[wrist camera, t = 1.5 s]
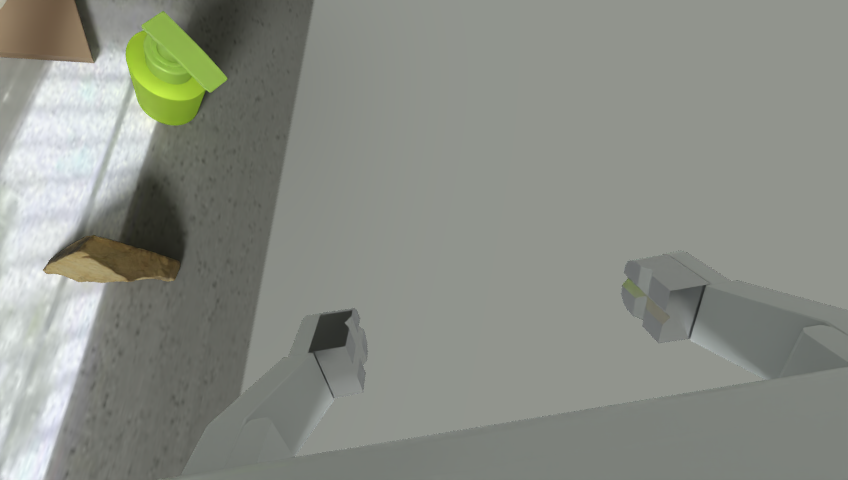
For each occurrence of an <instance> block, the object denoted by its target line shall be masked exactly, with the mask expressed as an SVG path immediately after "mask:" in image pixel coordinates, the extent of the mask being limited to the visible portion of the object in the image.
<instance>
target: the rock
mask: <svg viewBox="0 0 848 480" xmlns="http://www.w3.org/2000/svg"><path fill="white" fill-rule="evenodd" d="M179 268H180V262H179V261H177V260H175V259H172V258H169V257H166V256H163V255H159V254H157V253H154V252H150V251H147V250H144V249H140V248H135V247H133V246H130V245H126V244H123V243H121V242H117V241H113V240H110V239H107V238H103V237H98V236H95V235H92V236H85V237H84V238H82V239H80V240H78V241H76V242H74V243H73V244H71V245H70V246H68V247H66V248H65V249H63V250H62V251H61V252H59V253H58V254H56V255H55V256H54V257H53V258H51V259H50V260H49V262H48V264H47V265H46V267H45V268H44V269H43V271H44V272H45V273H47V274H59V275H63V276H66V277H68V278H71V279H73V280H75V281H78V282H86V281H88V282H100V283H105V282H114V281H125V282H133V281H135V280H143V279H158V280H163V281H174V280H175V278H176V276H177V273H178V271H179Z"/></svg>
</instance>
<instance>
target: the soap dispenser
mask: <svg viewBox="0 0 848 480" xmlns="http://www.w3.org/2000/svg"><path fill="white" fill-rule="evenodd" d="M142 29H143V30H144V31H141V32H139V33H137V34H136V35H134V36H133V37H132V38H131V39H130V41H129V43H128V45H127V48H126V61H127V65H128V68H129V72H130V75H131V79H132V82H133V86H134V89H135V93H136V96H137V100H138V102H139V104H140V106H141V108H142V109H143V110H144V111H145V113H146V114H148V115H149V116H150V117H151V118H153V119H155V120H156V121H158V122H161V123H164V124H168V125H182V124H185V123H188V122H190V121H191V120H192V119H193V118H194V117H195V116H196V114H197V112H198V109H199V107H200V104H201V101H202V99H203V96H204V93H205V91H206V90H207V91H208V92H210V93H211V92H212V91H214V90H215V89H216V88H217V87H219V86H220V85H221V84H222V83H224V82H225V81H226V80H227V77H226V76H225V75H224V73H223V72H222V71H221V70H220V69H219V68H218V67H217V65H216V64H215V63H214V62H213V61H212V60H211V59H210V58H209V56H208V55H207V54H206V53H205V52H204V51H203V50H202V49H201V48H200V47H199V46H198V45H197V44H196V43H195V42H194V41H193V40H192V39H191V38H190V37H189V36H188V35H187V34H186V33H185V32H184V31H183V30H182V29H181V28H180V27H179V26H178V25H177V24H176V23H175V22H174V21H173V20H172V19H171V18H170V17H169V16H168V15H167V14H166V13H165V12H164V11H163V12H161V13H159V14H158V15H156V16H155V17H153V18H152V19H150V20H149V21H147V22H146V23H144V24H143V25H142Z"/></svg>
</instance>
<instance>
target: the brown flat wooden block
mask: <svg viewBox="0 0 848 480" xmlns="http://www.w3.org/2000/svg"><path fill="white" fill-rule="evenodd" d="M0 57H8V58H24V59H40V60H56V61H71V62H87V63H94V61H93V58H92V54H91V51H90V48H89V44H88V41H87V38H86V35H85V31H84V28H83V25H82V21H81V18H80V15H79V12H78V8H77V5H76V2H75V0H0Z"/></svg>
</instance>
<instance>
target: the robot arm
mask: <svg viewBox="0 0 848 480" xmlns="http://www.w3.org/2000/svg"><path fill="white" fill-rule="evenodd" d="M624 273H625V275H626V276H627V277H628V279H627V280H626V281H625V283H623V285H622V293H621V295H622V299H623V303H624V305H625V306H626V308H627V310H628V311H629V312H630V313H631V314H632V315H633V316H635V317H637V318H639V319H642V320H643V327H644V328H645V329H646V331H647V332H648V333H649V334H650V335H651V336H652V337H653V338H654V339H655V340H656V341H657V342H658V343H663V342H670V341H677V340H685V339H690V341H692V342H694V343H696V344H698V345H700V346H702V347H704V348H706V349H707V350H709V351H711V352H713V353H715V354H717V355H719V356H721V357H723V358H725V359H727V360H728V361H730V362H732V363H734V364H736V365H738V366H740V367H742V368H744V369H746V370H748V371H750V372H752V373H753V374H755V375H757V376H759V377H761V378H763V379H765V380H762V381H756V382H751V383H744V384H738V385H732V386H726V387H720V388H713V389H708V390H702V391H696V392H689V393H683V394H677V395H671V396H665V397H659V398H652V399H646V400H641V401H635V402H628V403H622V404H616V405H610V406H604V407H598V408H592V409H586V410H580V411H574V412H567V413H561V414H555V415H549V416H542V417H537V418H531V419H524V420H518V421H512V422H506V423H500V424H494V425H488V426H482V427H475V428H469V429H463V430H457V431H451V432H445V433H439V434H433V435H427V436H421V437H414V438H408V439H402V440H397V441H390V442H384V443H378V444H372V445H366V446H359V447H353V448H347V449H341V450H335V451H329V452H323V453H317V454H311V455H305V456H299V457H295V456H296V454H297V453H298V452H299V450H300V449H301V447H302V446H303V444H304V443H305V441H306V440H307V439H308V437H309V435H310V434H311V433H312V431H313V430H314V428H315V427H316V425H317V424H318V423H319V421H320V420H321V418H322V417H323V415H324V414H325V413H326V411H327V409H328V408H329V407H330V405H331V404H332V402H333V401H334V398H338V397H343V396H348V395H353V394H358V393H363V390H364V381H365V370H364V367H363V365H364V363H365V362H366V361H367V355H368V350H367V340H366V335H365V332H364V329H362V328H361V327H359V321H360V317H359V314H358V312H357V310H356V309H355V308H351V309H345V310H338V311H332V312H324V313H319V314H313V315H307V316H305V317H304V318H303V320H302V322H301V325H300V328H299V330H298V333H297V335H296V338H295V340H294V343H293V346H292V348H291V351H290V354H289V356H288V357H284V358H282V359H281V360H280V361H279V362H278V363H277V364H276V365H274V366H273V367H272V368H271V369H270V370H269V371H268V372H267V373H265V374H264V375H263V376H262V377H261V378H260V379H259V380H258V381H257V382H255V383H254V384H253V385H252V386H251V387H250V388H249V389H248V390H246V391H245V392H244V393H243V394H242V395H241V396H240V397H239V398H238V399H236V400H235V401H234V402H233V403H232V404H231V405H230V406H229V407H228V408H226V409H225V410H224V411H223V412H222V413H221V414H220V415H219V416H217V417H216V418H215V419H214V420H213V421H212V422H211V423H210V424H209V425H207V427H206V429H205V431H204V433H203V435H202V437H201V439H200V440H199V442H198V444H197V446H196V448H195V450H194V452H193V453H192V455H191V457H190V459H189V461H188V463H187V465H186V466H185V468H184V470H183V472H182V474H181V476H177V477H170V478H164V479H158V480H848V310H846V309H842V308H838V307H835V306H831V305H827V304H823V303H820V302H816V301H812V300H809V299H805V298H801V297H797V296H794V295H790V294H787V293H783V292H779V291H775V290H771V289H768V288H764V287H760V286H757V285H753V284H750V283H746V282H742V281H738V280H736V281H731V280H729V279H727V278H726V277H724V276H723V275H721V274H720V273H718V272H717V271H715V270H714V269H712V268H710V267H709V266H707V265H706V264H704V263H703V262H701V261H700V260H698V259H697V258H695V257H694V256H692V255H690V254H689V253H687V252H684V251H676V252H671V253H667V254H662V255H659V256H653V257H647V258H642V259H636V260H630V261H628V262H627V263H626V265H625V270H624Z"/></svg>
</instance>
